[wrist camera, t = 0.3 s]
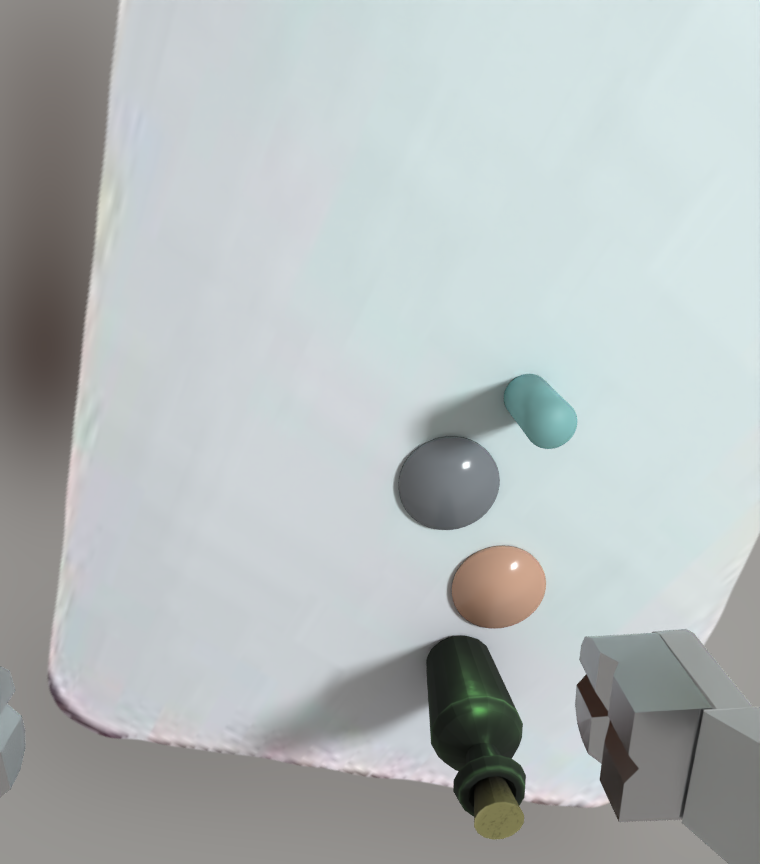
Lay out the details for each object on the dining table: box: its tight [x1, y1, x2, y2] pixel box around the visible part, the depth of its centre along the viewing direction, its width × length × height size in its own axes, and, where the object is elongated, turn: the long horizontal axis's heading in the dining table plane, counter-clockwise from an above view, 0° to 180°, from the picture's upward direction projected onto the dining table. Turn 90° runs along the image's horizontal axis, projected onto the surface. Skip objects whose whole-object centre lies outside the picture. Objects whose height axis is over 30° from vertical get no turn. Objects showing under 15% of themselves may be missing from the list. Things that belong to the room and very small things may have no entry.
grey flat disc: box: [399, 436, 500, 530], centre depth 60 cm, size 9×9×1 cm
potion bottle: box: [427, 636, 526, 839], centre depth 59 cm, size 8×8×18 cm
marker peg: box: [504, 374, 577, 449], centre depth 55 cm, size 4×4×7 cm
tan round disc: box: [452, 546, 546, 628], centre depth 65 cm, size 9×9×1 cm
